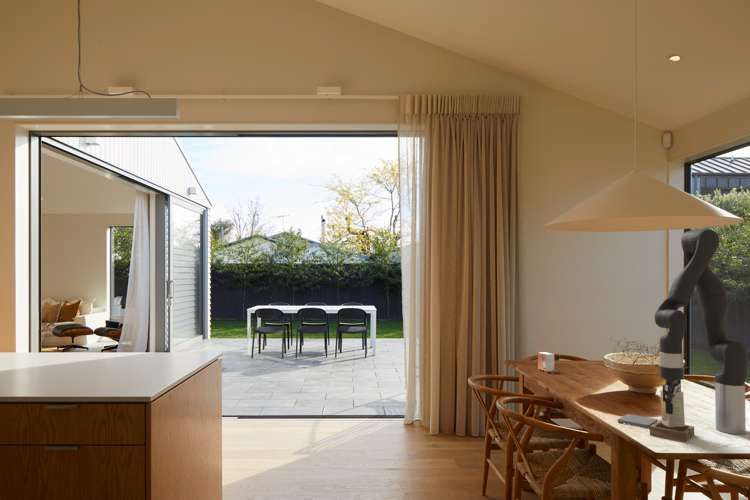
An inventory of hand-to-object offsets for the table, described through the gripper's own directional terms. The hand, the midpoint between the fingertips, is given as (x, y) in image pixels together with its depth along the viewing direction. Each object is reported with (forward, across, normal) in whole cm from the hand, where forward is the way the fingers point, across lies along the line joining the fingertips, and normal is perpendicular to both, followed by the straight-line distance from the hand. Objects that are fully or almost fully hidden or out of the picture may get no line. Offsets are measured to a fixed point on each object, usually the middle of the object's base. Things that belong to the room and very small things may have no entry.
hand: (672, 411), depth 191 cm
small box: (+9, +80, +86) cm, 118 cm away
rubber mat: (+8, +8, +14) cm, 18 cm away
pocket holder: (+8, 0, 0) cm, 8 cm away
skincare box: (+5, 0, 0) cm, 5 cm away
